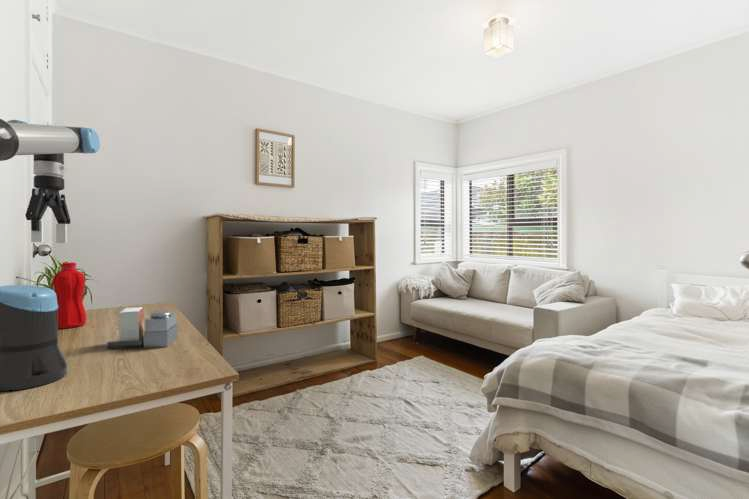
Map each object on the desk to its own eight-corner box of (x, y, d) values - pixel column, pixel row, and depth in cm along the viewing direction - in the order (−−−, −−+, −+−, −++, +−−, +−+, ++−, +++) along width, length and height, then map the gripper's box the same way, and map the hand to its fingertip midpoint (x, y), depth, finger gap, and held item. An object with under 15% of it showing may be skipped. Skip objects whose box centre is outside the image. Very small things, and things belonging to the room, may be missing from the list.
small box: (139, 343, 125) (138, 311, 125) (119, 344, 123) (118, 312, 123) (144, 337, 132) (143, 306, 132) (125, 338, 130) (125, 307, 130)
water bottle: (76, 321, 157) (75, 261, 156) (89, 325, 152) (88, 262, 151) (48, 326, 149) (47, 262, 148) (60, 330, 144) (59, 263, 143)
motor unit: (167, 346, 125) (167, 315, 124) (107, 349, 121) (106, 317, 121) (177, 337, 136) (177, 309, 135) (122, 339, 132) (122, 310, 132)
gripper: (39, 168, 112) (40, 241, 112) (81, 183, 136) (82, 243, 136) (8, 167, 110) (9, 241, 110) (57, 183, 134) (57, 243, 134)
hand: (50, 242), depth 123 cm, fingers open, 13 cm apart
